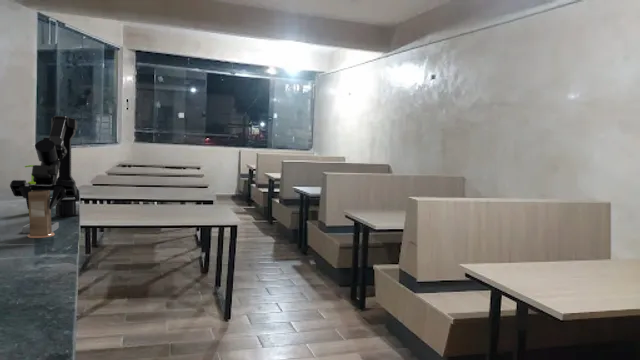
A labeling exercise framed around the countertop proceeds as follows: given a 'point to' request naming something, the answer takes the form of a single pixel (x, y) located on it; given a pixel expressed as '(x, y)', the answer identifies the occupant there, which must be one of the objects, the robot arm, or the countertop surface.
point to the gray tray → (53, 224)
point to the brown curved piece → (41, 235)
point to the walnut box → (39, 212)
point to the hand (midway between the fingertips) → (39, 208)
